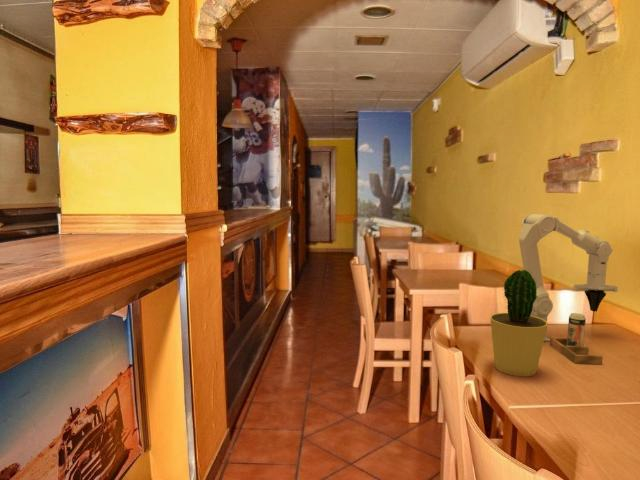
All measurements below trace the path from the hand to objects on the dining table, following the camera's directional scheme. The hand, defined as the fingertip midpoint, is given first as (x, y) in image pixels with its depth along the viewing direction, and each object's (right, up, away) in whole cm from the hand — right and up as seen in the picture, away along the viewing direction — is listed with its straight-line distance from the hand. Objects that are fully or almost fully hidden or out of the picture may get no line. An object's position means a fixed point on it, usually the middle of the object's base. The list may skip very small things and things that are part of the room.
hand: (593, 310), depth 167 cm
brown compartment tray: (-17, -11, -18) cm, 27 cm away
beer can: (-15, -11, -15) cm, 23 cm away
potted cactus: (-41, -12, -31) cm, 53 cm away
